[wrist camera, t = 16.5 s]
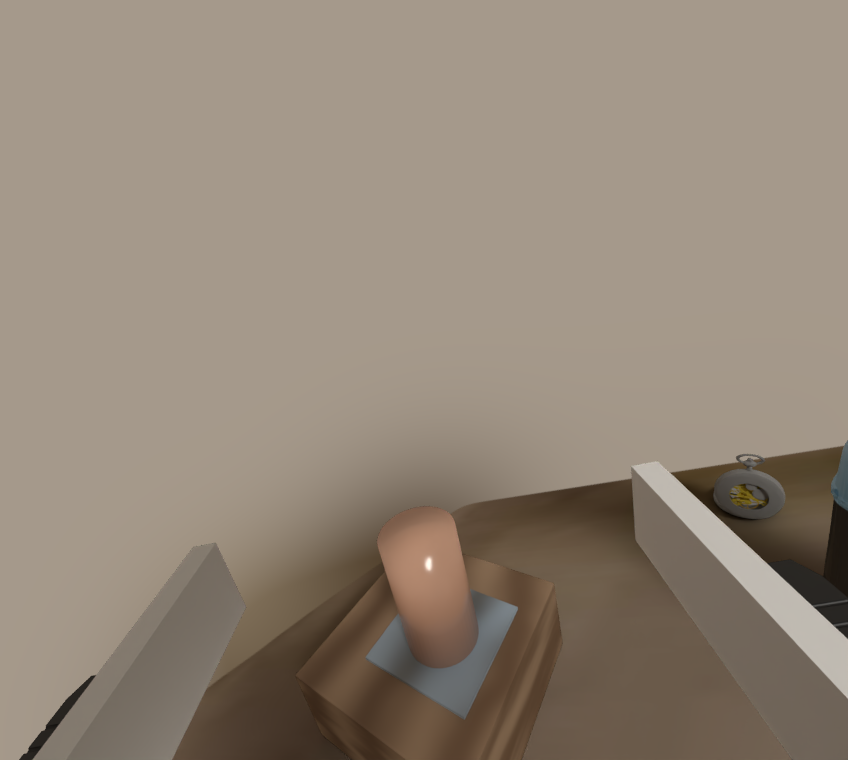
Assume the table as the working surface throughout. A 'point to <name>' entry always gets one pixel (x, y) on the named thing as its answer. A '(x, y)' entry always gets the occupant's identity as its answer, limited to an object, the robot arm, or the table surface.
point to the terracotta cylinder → (429, 585)
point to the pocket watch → (749, 492)
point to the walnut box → (437, 676)
